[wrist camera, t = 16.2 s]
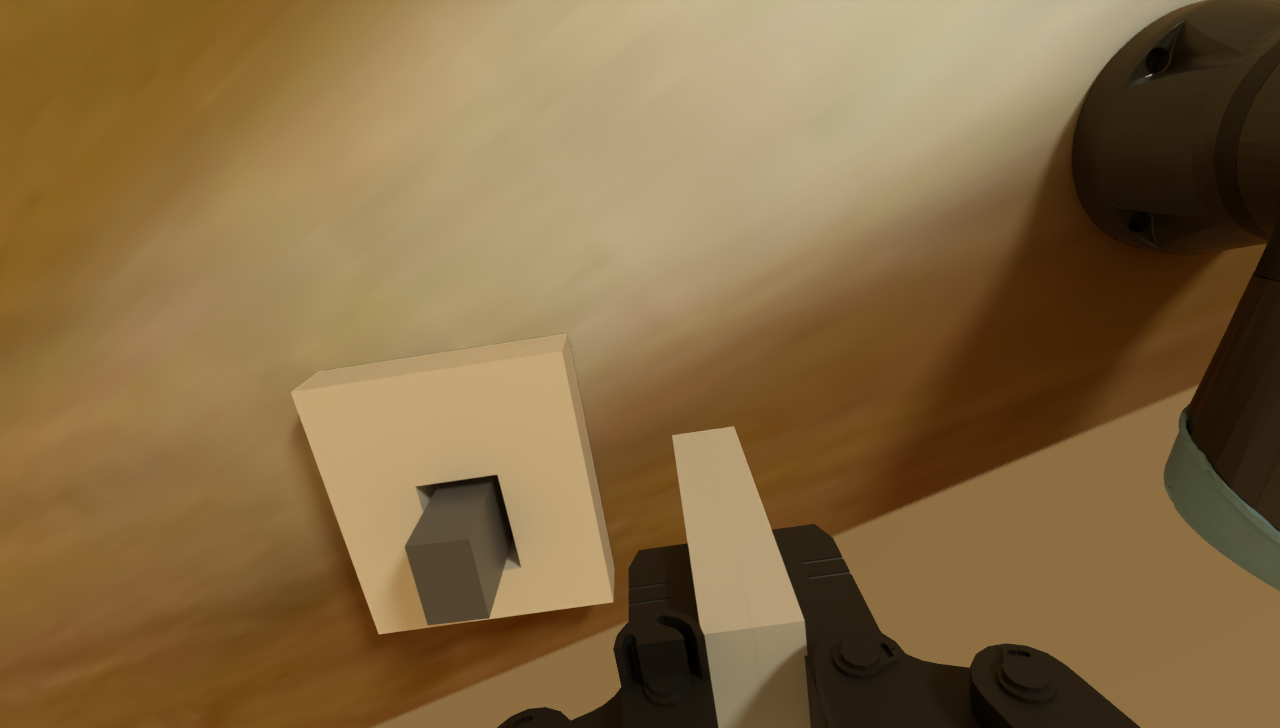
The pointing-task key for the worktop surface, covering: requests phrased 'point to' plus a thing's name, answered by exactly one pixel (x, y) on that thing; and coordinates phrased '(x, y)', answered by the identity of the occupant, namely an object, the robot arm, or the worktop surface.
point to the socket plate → (463, 469)
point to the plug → (460, 550)
